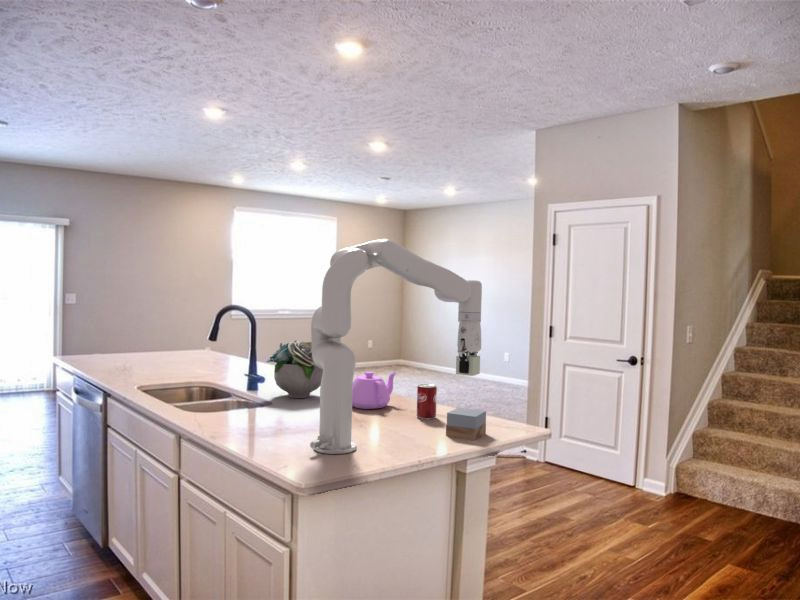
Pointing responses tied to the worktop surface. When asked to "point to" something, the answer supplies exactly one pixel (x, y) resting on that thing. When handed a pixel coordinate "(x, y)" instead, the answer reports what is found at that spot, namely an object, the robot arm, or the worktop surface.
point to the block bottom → (465, 432)
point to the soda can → (426, 401)
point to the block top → (466, 418)
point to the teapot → (371, 391)
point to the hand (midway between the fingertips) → (467, 371)
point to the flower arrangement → (296, 369)
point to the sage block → (470, 365)
